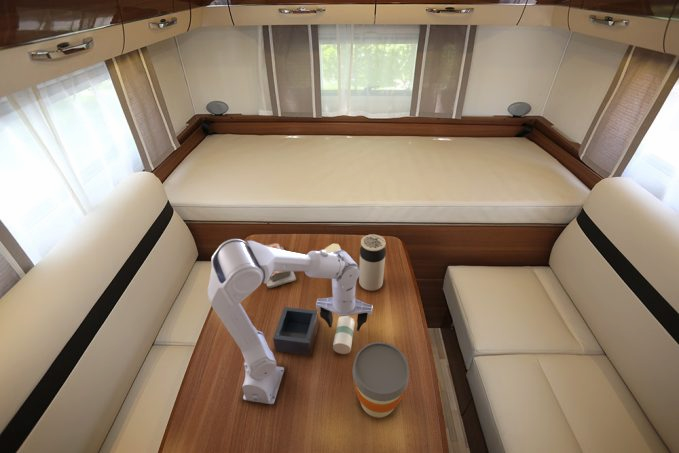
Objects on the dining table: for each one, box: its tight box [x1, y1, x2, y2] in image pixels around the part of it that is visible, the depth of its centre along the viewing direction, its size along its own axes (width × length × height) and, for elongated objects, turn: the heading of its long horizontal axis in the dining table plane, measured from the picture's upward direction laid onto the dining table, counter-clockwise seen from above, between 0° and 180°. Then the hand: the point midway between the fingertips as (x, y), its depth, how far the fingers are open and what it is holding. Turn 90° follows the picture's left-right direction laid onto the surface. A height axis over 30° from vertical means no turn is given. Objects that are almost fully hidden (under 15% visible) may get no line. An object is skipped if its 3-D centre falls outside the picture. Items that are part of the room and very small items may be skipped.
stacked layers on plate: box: [324, 243, 342, 253], centre depth 119 cm, size 10×9×6 cm
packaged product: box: [264, 242, 297, 289], centre depth 117 cm, size 18×5×10 cm
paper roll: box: [332, 315, 356, 355], centre depth 94 cm, size 9×5×5 cm, turn 171°
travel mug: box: [358, 233, 387, 292], centre depth 107 cm, size 8×8×18 cm
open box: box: [272, 306, 320, 357], centre depth 94 cm, size 11×10×6 cm
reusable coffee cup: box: [352, 341, 410, 418], centre depth 77 cm, size 13×13×15 cm
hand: (344, 326), depth 91 cm, fingers open, 7 cm apart
